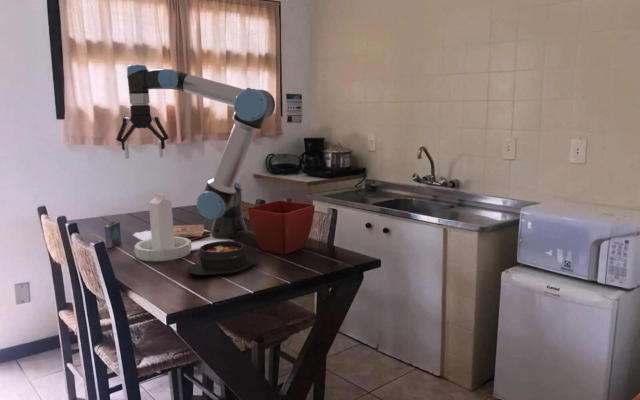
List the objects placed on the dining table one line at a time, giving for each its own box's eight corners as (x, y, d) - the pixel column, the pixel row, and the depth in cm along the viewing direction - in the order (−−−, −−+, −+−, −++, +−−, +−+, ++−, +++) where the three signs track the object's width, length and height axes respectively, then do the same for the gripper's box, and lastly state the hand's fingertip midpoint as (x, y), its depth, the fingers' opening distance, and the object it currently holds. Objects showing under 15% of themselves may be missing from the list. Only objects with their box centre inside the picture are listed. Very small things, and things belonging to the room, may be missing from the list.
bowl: (194, 245, 210) (194, 235, 210) (185, 260, 191) (185, 249, 190) (143, 247, 209) (143, 237, 208) (129, 262, 189) (128, 251, 189)
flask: (110, 248, 207) (108, 222, 205) (103, 248, 208) (101, 222, 206) (122, 242, 216) (120, 217, 214) (116, 242, 217) (113, 216, 215)
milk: (161, 254, 196) (156, 196, 192) (152, 251, 200) (147, 194, 195) (175, 250, 200) (171, 193, 196) (166, 247, 204) (162, 191, 200)
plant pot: (247, 250, 203) (245, 207, 200) (280, 239, 218) (279, 199, 215) (284, 258, 192) (283, 213, 188) (316, 247, 206) (316, 205, 203)
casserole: (201, 285, 165) (200, 259, 164) (178, 270, 180) (176, 247, 178) (269, 269, 180) (268, 245, 179) (242, 257, 195) (241, 235, 193)
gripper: (173, 103, 215) (177, 155, 219) (110, 105, 213) (115, 157, 217) (169, 104, 207) (173, 157, 211) (104, 105, 206) (110, 159, 210)
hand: (144, 157), depth 214 cm, fingers open, 13 cm apart
